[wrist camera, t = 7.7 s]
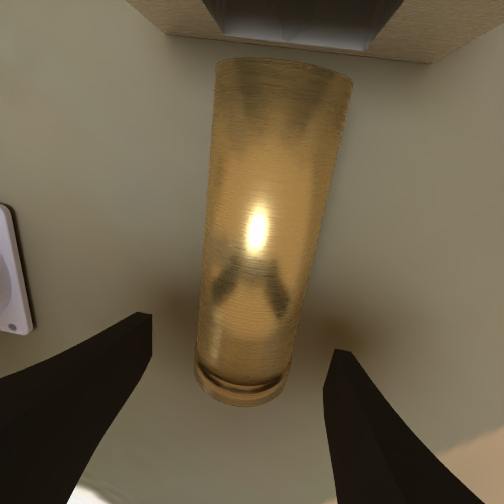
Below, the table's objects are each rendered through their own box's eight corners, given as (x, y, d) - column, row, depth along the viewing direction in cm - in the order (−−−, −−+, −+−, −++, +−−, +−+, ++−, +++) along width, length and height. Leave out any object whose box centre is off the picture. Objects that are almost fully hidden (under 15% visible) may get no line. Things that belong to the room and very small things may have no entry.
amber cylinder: (209, 328, 15) (179, 394, 11) (230, 82, 10) (194, 48, 7) (287, 344, 14) (286, 417, 11) (342, 96, 10) (371, 69, 6)
